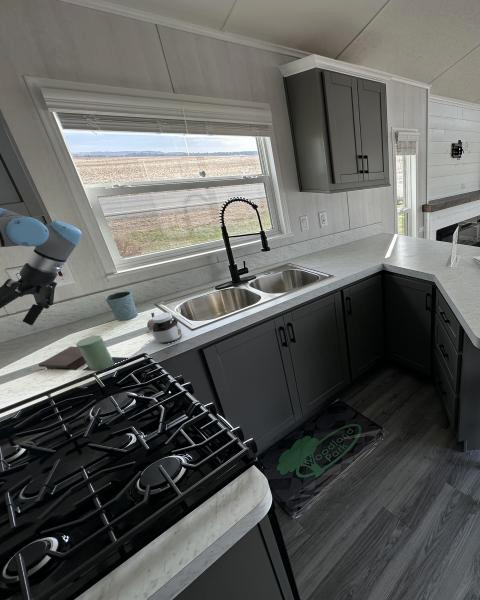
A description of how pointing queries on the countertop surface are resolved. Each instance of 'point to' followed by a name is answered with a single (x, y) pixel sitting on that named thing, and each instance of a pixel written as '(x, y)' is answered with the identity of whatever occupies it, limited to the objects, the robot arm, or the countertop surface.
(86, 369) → the mat
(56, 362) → the stand
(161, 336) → the spread jar
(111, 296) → the blue plant pot
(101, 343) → the sage green cylinder
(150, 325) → the garlic bulb
